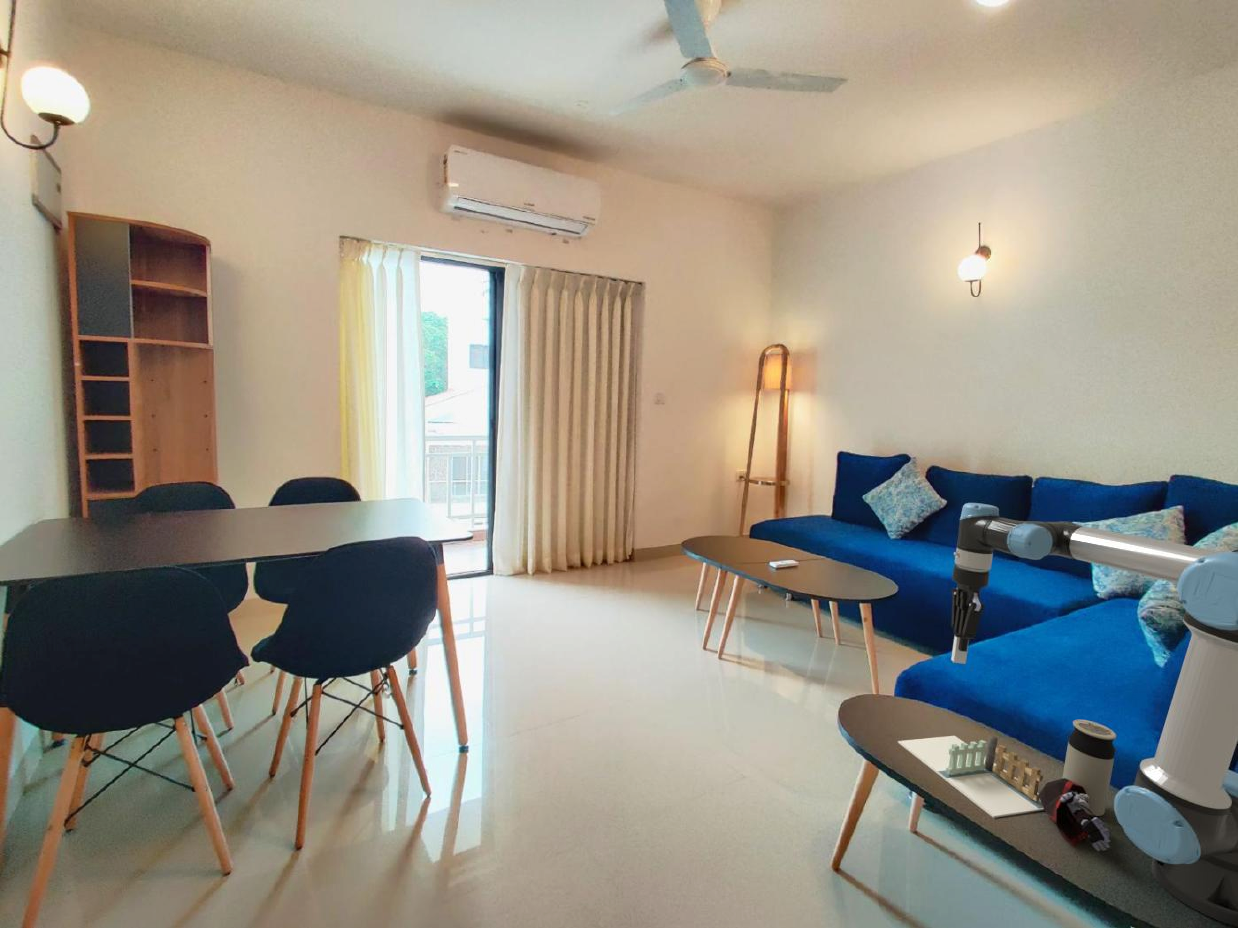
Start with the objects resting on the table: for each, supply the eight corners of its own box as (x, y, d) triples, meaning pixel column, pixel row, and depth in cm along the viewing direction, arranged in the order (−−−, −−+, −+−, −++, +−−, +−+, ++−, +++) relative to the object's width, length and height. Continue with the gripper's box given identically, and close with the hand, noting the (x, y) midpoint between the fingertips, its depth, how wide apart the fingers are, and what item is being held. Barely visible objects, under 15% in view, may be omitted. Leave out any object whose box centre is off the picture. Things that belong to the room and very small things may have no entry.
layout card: (1057, 808, 130) (1058, 805, 130) (993, 817, 125) (993, 815, 125) (954, 736, 157) (954, 735, 157) (897, 742, 152) (898, 740, 152)
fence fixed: (1039, 804, 131) (1045, 768, 130) (1033, 805, 131) (1039, 769, 130) (987, 768, 144) (992, 734, 143) (982, 768, 143) (987, 735, 143)
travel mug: (1109, 821, 127) (1123, 742, 125) (1064, 808, 130) (1077, 731, 129) (1097, 800, 134) (1111, 725, 133) (1055, 788, 138) (1067, 714, 136)
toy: (1095, 793, 115) (1059, 756, 130) (1048, 814, 117) (1018, 776, 132) (1136, 850, 114) (1095, 806, 128) (1088, 871, 116) (1053, 825, 130)
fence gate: (981, 767, 143) (985, 739, 142) (984, 769, 142) (989, 742, 141) (945, 772, 139) (949, 744, 138) (949, 775, 138) (953, 746, 137)
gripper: (944, 559, 150) (932, 649, 152) (966, 572, 137) (952, 670, 139) (976, 562, 149) (963, 653, 151) (1001, 576, 136) (986, 675, 138)
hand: (958, 661), depth 145 cm, fingers closed
